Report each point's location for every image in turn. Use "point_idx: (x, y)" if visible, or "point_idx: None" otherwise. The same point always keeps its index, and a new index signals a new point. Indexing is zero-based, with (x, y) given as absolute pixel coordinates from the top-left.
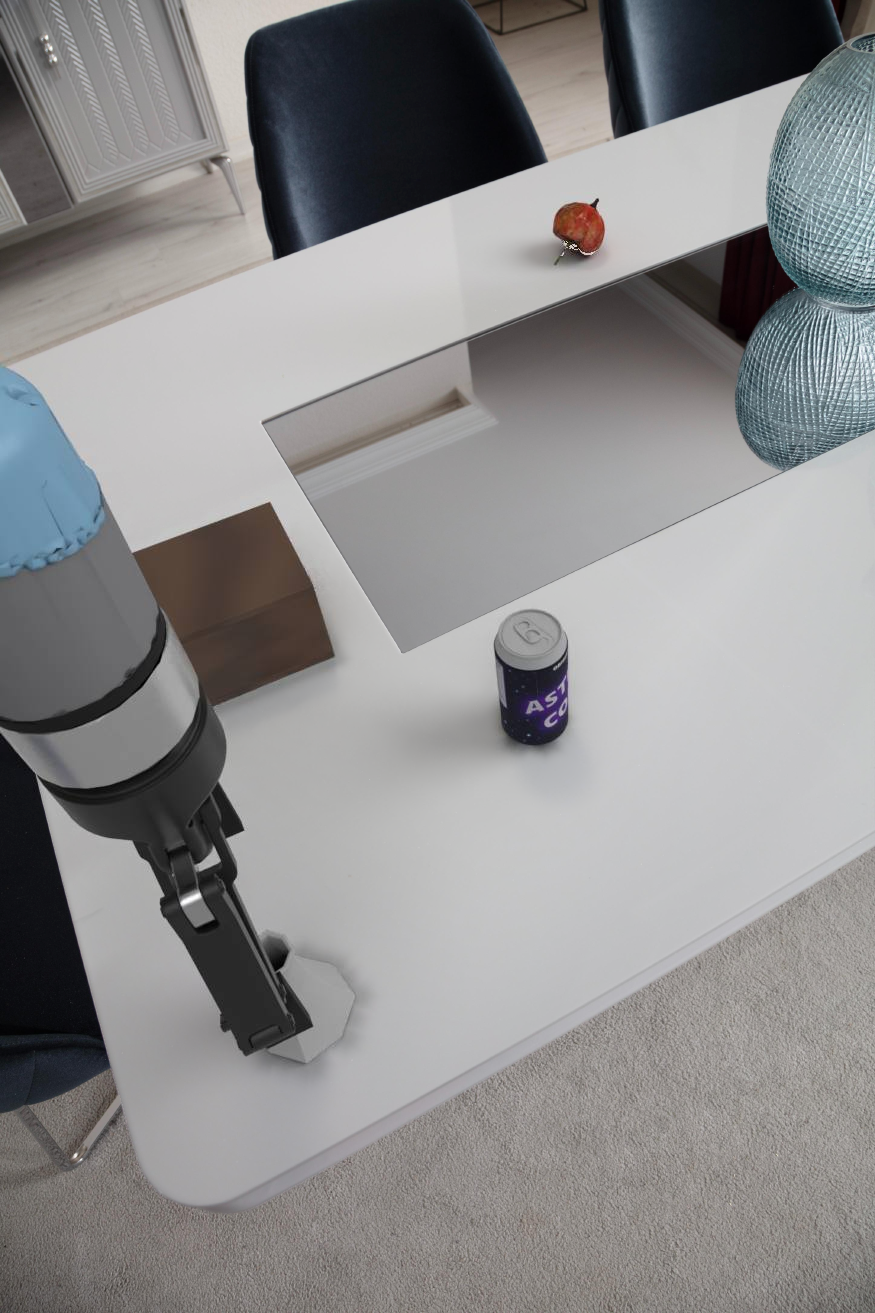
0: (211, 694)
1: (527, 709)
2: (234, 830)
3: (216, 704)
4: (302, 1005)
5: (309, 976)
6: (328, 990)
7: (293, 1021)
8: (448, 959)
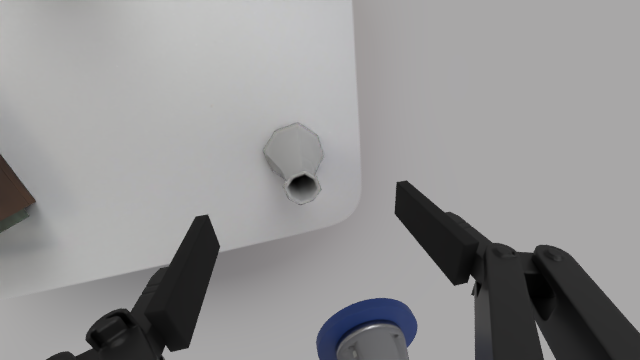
0: (3, 185)
1: None
2: (208, 225)
3: (18, 179)
4: (412, 194)
5: (302, 154)
6: (302, 141)
7: (563, 254)
8: (292, 54)
